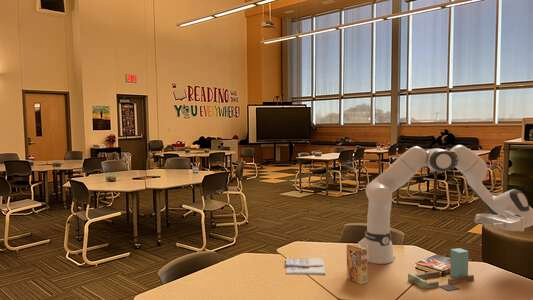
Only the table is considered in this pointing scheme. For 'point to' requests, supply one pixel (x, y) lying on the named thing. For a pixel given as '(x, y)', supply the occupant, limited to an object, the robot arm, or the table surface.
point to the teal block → (459, 262)
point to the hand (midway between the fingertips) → (484, 223)
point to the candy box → (357, 263)
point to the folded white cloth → (305, 262)
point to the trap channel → (424, 284)
